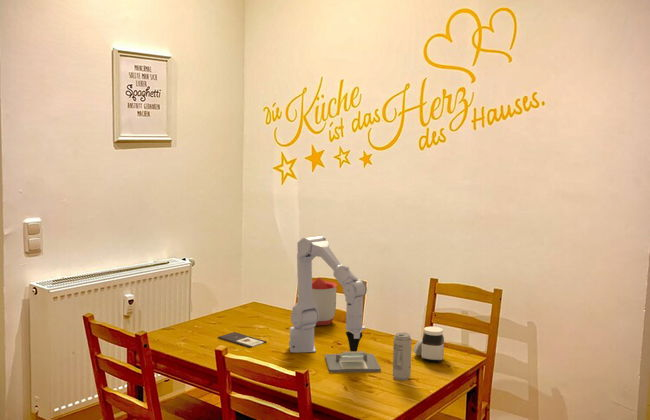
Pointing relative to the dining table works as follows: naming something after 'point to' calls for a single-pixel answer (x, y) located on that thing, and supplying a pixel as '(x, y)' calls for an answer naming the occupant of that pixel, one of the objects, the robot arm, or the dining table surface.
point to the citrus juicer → (324, 300)
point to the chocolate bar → (242, 339)
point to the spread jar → (431, 345)
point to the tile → (353, 354)
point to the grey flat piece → (352, 363)
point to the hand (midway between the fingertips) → (353, 352)
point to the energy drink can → (402, 356)
